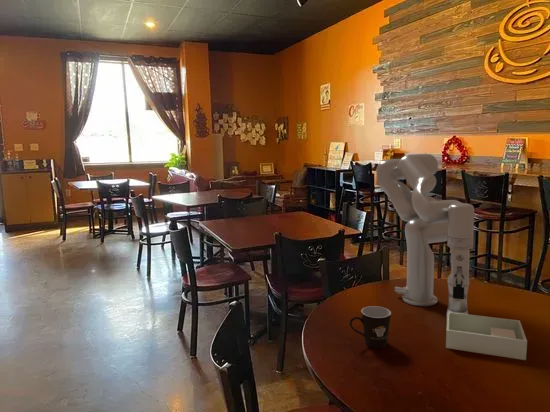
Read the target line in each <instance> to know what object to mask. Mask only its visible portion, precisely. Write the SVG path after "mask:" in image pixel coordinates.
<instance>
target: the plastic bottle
mask: <svg viewBox="0 0 550 412" xmlns="http://www.w3.org/2000/svg"><path fill="white" fill-rule="evenodd" d="M462 276H463V274H462ZM462 276H461V277H462ZM456 277H457V276H456ZM446 281H447V288H448V304H447V310H446V313H445V314H446V317H447V312H454V313H462V314H469V311H468V303H467V302H468V292H469V286H470V279H468V280H466V279H465V278H464V299H454V298H453V286H454V278H452V272H450V274H449V275H448V277H447V280H446ZM461 281H462V280H461Z"/></svg>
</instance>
